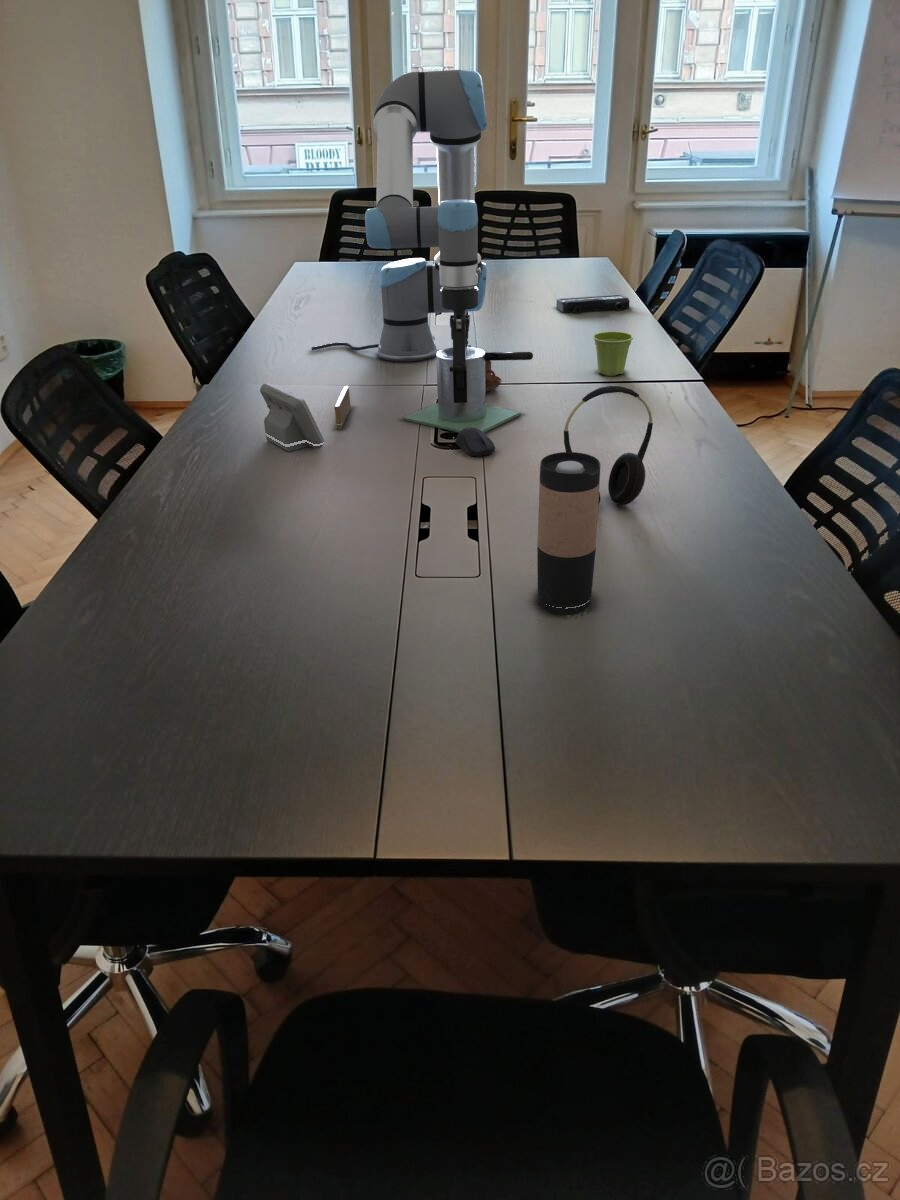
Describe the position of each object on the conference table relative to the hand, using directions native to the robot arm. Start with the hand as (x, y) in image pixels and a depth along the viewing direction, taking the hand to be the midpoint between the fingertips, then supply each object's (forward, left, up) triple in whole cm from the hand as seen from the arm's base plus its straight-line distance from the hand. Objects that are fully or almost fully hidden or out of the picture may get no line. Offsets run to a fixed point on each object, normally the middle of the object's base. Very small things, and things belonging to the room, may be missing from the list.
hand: (461, 392), depth 184 cm
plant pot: (+11, +46, -6) cm, 47 cm away
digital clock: (-19, -30, -6) cm, 36 cm away
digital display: (-27, +105, -6) cm, 109 cm away
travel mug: (+58, -54, -6) cm, 79 cm away
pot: (-5, -3, -4) cm, 7 cm away
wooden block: (-21, -14, -5) cm, 26 cm away
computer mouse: (+14, -14, -6) cm, 20 cm away
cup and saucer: (-9, +18, -6) cm, 21 cm away
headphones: (+47, -23, -6) cm, 52 cm away
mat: (0, 0, -5) cm, 5 cm away
